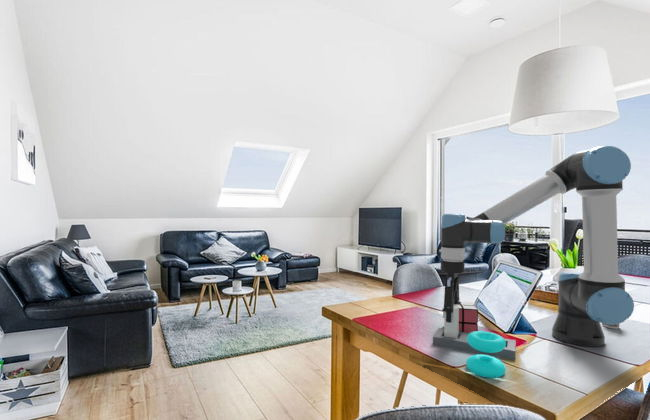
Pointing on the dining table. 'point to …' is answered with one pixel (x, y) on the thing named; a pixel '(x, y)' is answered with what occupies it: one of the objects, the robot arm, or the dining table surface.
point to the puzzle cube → (468, 317)
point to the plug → (456, 323)
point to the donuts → (486, 363)
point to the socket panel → (464, 345)
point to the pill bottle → (611, 325)
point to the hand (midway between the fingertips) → (451, 327)
